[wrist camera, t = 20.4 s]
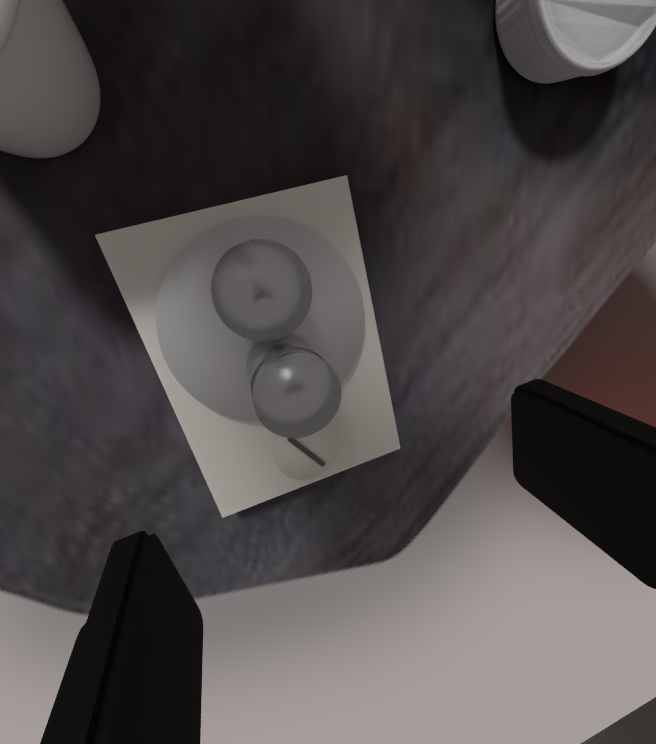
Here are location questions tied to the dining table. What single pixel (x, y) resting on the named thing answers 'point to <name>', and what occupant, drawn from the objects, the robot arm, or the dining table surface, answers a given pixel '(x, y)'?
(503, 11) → the ramekin
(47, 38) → the candle holder
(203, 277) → the scale
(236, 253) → the disc
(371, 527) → the dining table surface
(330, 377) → the cylinder
